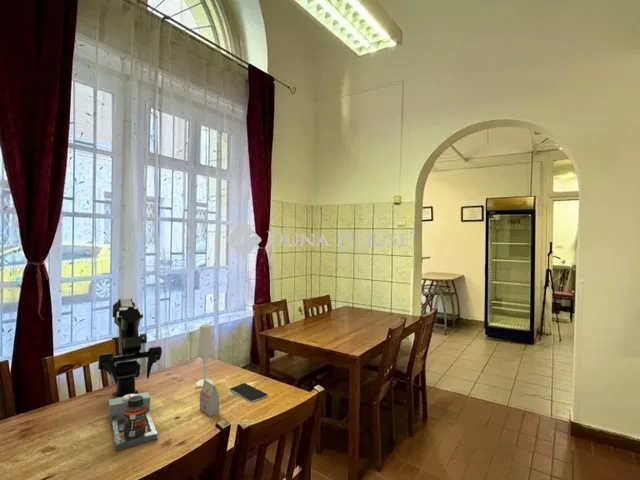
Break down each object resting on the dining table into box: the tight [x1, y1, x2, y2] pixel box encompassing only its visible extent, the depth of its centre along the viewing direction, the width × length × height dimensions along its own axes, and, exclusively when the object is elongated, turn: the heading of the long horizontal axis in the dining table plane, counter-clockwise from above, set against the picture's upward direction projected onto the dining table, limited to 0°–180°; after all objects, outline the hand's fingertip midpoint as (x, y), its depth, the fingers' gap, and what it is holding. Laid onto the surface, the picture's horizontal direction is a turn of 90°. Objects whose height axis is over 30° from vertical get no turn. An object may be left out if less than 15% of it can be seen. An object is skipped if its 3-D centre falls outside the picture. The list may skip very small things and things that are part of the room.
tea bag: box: [199, 380, 220, 417], centre depth 123 cm, size 4×7×10 cm, turn 45°
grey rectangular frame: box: [111, 408, 159, 452], centre depth 110 cm, size 20×11×2 cm, turn 34°
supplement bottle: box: [123, 396, 147, 439], centre depth 107 cm, size 6×6×11 cm
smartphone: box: [229, 382, 269, 403], centre depth 138 cm, size 8×1×15 cm
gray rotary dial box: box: [108, 391, 151, 422], centre depth 121 cm, size 5×12×6 cm, turn 123°
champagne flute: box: [195, 323, 214, 387], centre depth 147 cm, size 7×7×24 cm
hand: (132, 381), depth 115 cm, fingers open, 9 cm apart
